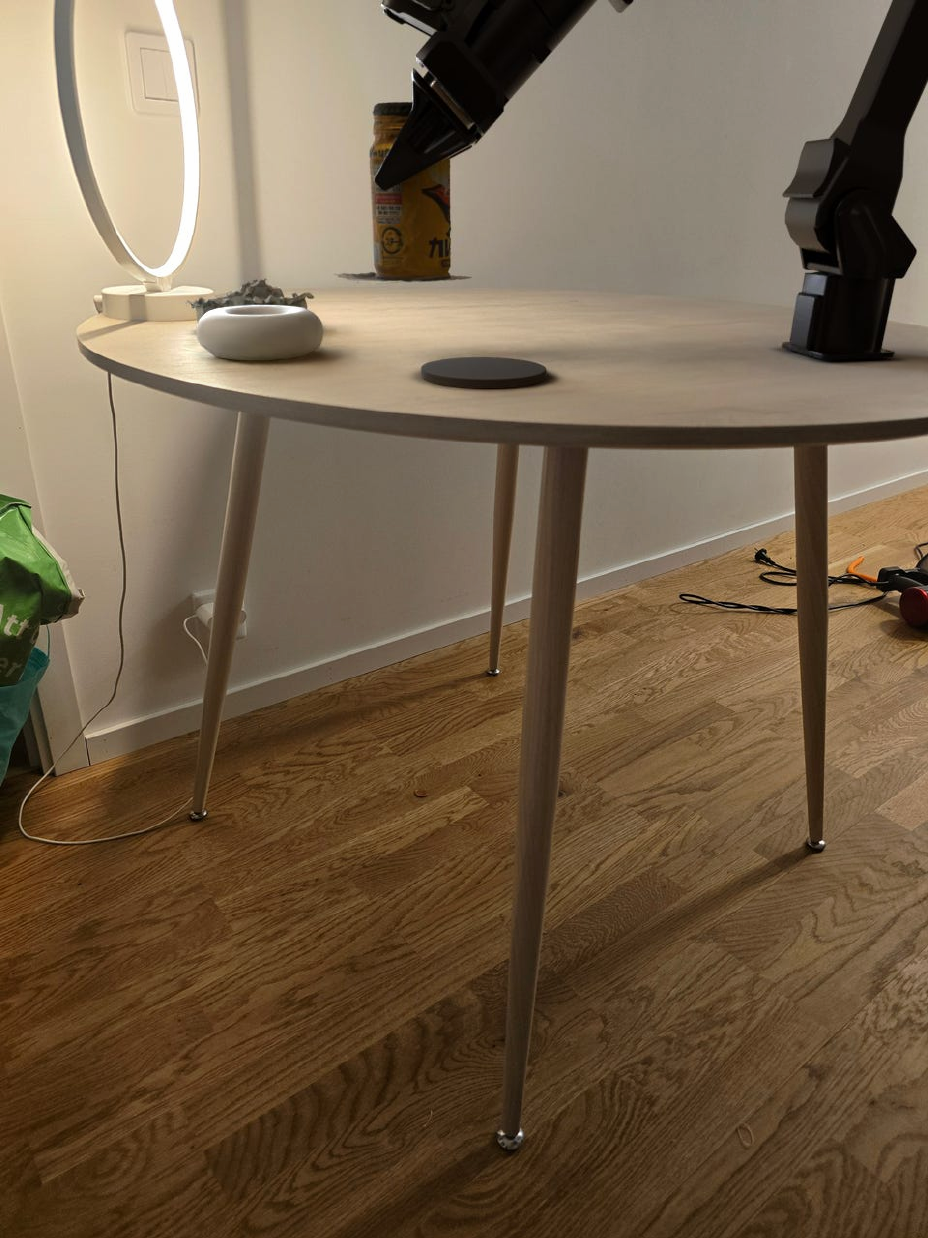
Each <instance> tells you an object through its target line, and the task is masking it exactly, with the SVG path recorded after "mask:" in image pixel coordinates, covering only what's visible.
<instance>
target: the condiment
mask: <svg viewBox="0 0 928 1238" xmlns="http://www.w3.org/2000/svg"><path fill="white" fill-rule="evenodd" d="M412 106H413V101H392V102H390V101H389V102H378V103H376V104H375V105H374V107H373V111H372V115H373V127H372V134H373V135H374V140H373V143H372V145H371V147H370V149H369V153H368V154H369V155H368V156H369V157H368V158H369V175H370V193H371V194H370V198H371V199H370V200H371V220H372V225H371V226H372V245H373V266H374V269H375V271H376V272H375V271H369V272H366V273H363V272H360V273H346V272H341V273H333V276H337V277H338V278H342V279H346V280H348V281H354V282H357V283H358V284H359V283H361V282H362V283H367V284H376V285H381V284H382V285H384V284H398V283H416V282H418V283H427V282H429V283H430V282H440V281H444V282H446V281H457V280H458V281H459V280H468V279H471V278H472V276H466V275H453V274H452V275H451V273H450V272H449V270H450V269H451V266H452V263H451V261H452V260H451V255H452V248H451V244H452V238H451V231H452V220H451V159H450V157H448V158H446V159H444V160H442V161H440V162H439V163H437V164H435V165H433V166H431V167H429V168H427V169H426V170H424V171H422V172H420V173H418V174H416V175H414V176H413V177H411V178H409V179H407V180H405V181H403V182H401V183H400V184H398V185H396V186H394V187H392V188H390V189H388V190H386V191H383V190H382V189H381V188H380V187H379V186H378V185H377V184H376V183H375V181H374V178H375V176H376V174H377V172H378V171H379V169H380V167H381V165H382V163H383V161H384V160H385V158H386V156H387V154H388V152H389V150H390V149H391V147H392V145H393V143H394V141H395V139H396V138H397V136H398V134H399V132H400V130H401V128H402V127H403V125H404V123H405V121H406V119H407V117H408V115H409V114H410V112H411V110H412Z"/></svg>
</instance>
